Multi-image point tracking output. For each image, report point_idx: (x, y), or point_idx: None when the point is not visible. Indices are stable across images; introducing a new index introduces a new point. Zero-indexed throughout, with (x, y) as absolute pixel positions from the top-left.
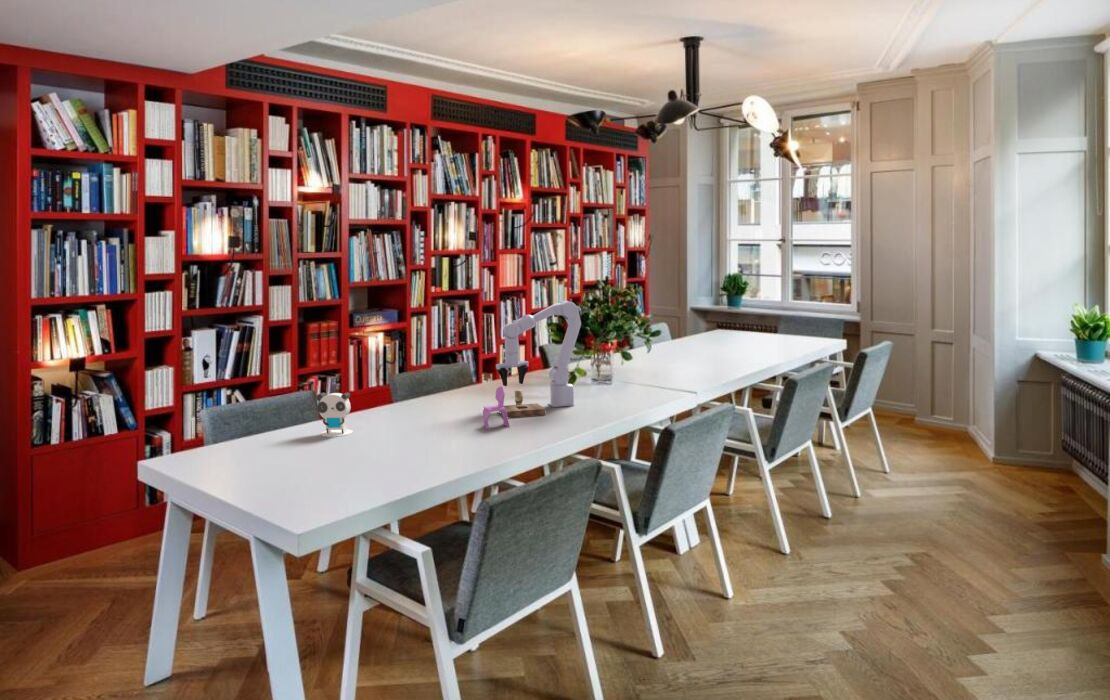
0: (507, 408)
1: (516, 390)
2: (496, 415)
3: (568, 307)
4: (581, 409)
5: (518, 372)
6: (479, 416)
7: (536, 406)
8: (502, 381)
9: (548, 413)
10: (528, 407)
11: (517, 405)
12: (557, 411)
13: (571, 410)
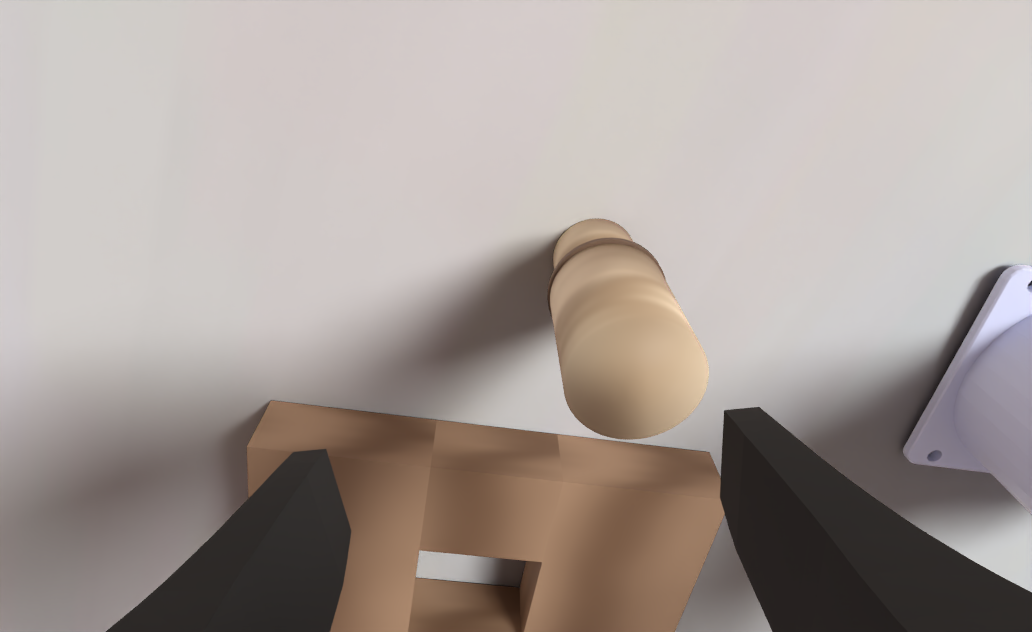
0: None
1: (615, 342)
2: (205, 511)
3: None
4: None
5: (871, 614)
6: (15, 480)
7: (627, 616)
8: (240, 524)
9: (687, 623)
10: (531, 622)
11: (468, 505)
12: None
13: None
